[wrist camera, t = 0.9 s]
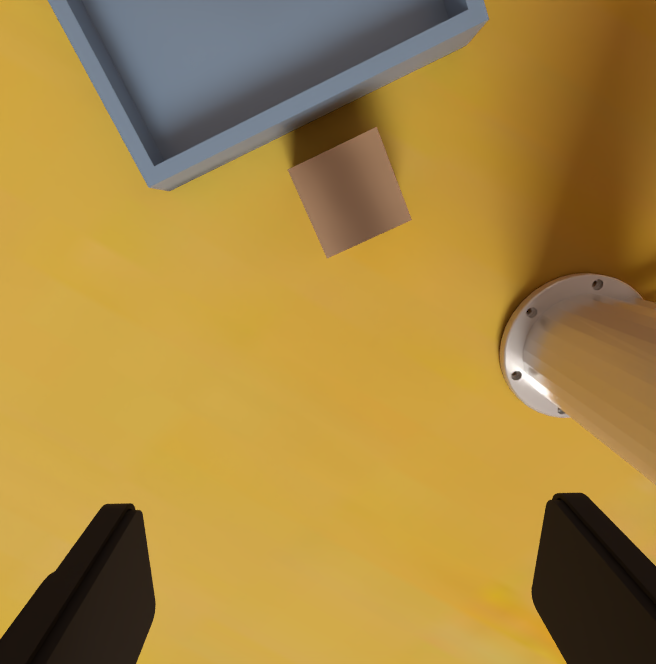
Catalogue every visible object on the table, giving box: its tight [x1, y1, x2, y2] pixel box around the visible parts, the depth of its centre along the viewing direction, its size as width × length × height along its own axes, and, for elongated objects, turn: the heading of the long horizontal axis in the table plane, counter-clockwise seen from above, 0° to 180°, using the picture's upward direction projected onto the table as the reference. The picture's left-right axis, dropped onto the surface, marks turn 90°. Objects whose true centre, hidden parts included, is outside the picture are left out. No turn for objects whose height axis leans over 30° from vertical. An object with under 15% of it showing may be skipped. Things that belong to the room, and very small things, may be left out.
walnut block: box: [288, 127, 412, 258], centre depth 29 cm, size 6×6×6 cm
